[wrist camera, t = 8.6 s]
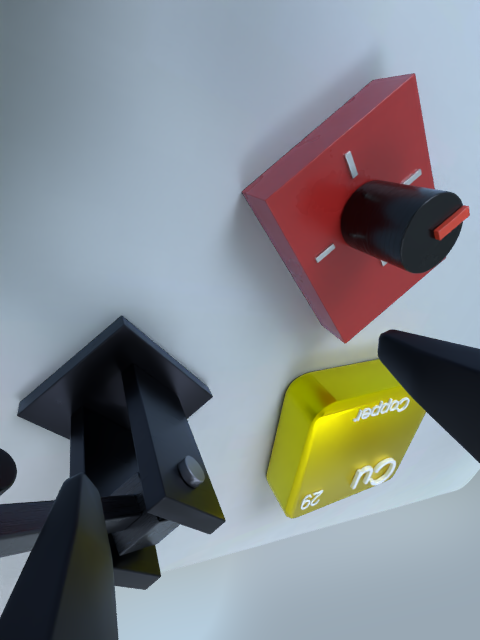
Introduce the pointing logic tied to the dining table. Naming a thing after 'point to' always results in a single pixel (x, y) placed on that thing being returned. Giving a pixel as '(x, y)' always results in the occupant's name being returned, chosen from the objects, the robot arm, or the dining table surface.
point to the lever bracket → (131, 433)
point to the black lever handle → (119, 512)
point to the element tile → (340, 435)
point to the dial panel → (344, 201)
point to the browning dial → (403, 223)
